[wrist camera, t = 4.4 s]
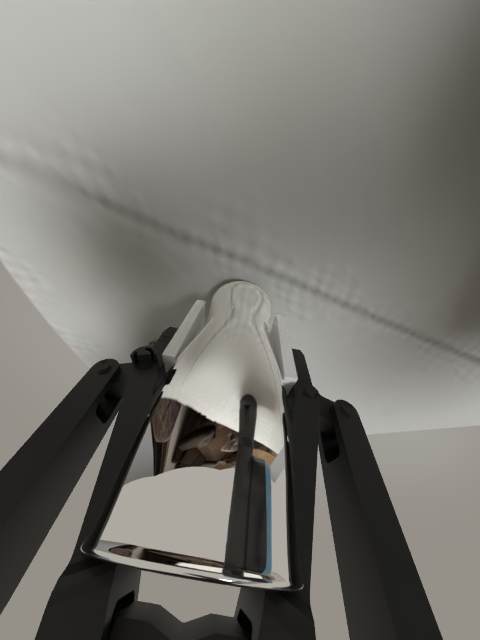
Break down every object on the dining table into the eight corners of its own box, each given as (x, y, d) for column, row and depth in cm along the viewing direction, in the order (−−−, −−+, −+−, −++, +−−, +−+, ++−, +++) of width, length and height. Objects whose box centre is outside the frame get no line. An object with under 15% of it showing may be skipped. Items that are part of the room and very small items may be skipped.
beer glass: (277, 332, 19) (309, 584, 6) (217, 337, 20) (149, 553, 8) (272, 270, 15) (326, 612, 3) (197, 281, 16) (-1, 541, 4)
